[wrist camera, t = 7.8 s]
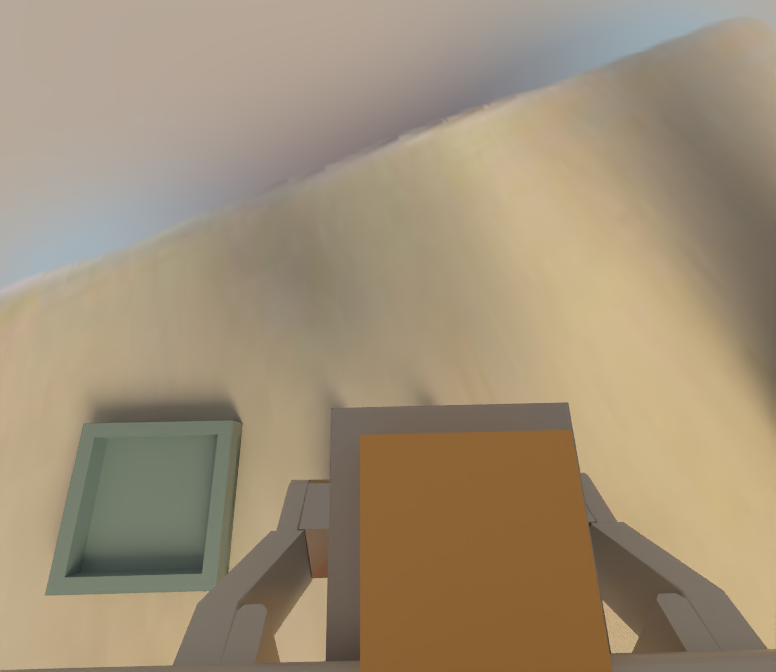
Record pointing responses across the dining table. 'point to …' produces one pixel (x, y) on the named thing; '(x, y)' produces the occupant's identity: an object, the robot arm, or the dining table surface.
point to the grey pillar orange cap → (461, 542)
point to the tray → (148, 508)
